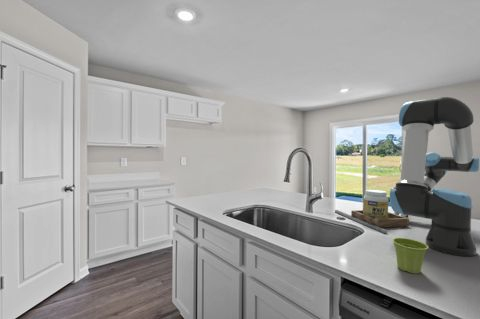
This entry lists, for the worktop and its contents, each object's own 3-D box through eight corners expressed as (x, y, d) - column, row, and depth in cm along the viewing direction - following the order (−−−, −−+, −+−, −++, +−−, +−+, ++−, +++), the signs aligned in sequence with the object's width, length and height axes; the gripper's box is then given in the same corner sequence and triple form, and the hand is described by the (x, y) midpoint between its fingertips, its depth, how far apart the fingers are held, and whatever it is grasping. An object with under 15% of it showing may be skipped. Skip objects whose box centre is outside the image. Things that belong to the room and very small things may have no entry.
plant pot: (411, 262, 81) (412, 237, 80) (435, 276, 71) (436, 248, 71) (385, 262, 80) (386, 237, 80) (405, 276, 71) (406, 248, 71)
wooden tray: (423, 225, 123) (424, 202, 123) (376, 227, 118) (377, 204, 117) (392, 215, 142) (393, 196, 142) (351, 217, 137) (351, 197, 136)
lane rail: (387, 233, 110) (387, 230, 110) (384, 233, 110) (384, 230, 110) (336, 212, 149) (336, 209, 149) (334, 212, 149) (334, 210, 149)
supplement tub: (365, 222, 127) (366, 191, 127) (360, 216, 139) (361, 188, 138) (390, 225, 124) (391, 193, 123) (384, 219, 135) (385, 190, 135)
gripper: (443, 193, 126) (416, 224, 124) (414, 188, 143) (390, 216, 140) (435, 183, 125) (408, 214, 122) (407, 179, 142) (383, 207, 139)
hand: (398, 215), depth 131 cm, fingers closed on wooden tray, 4 cm apart
